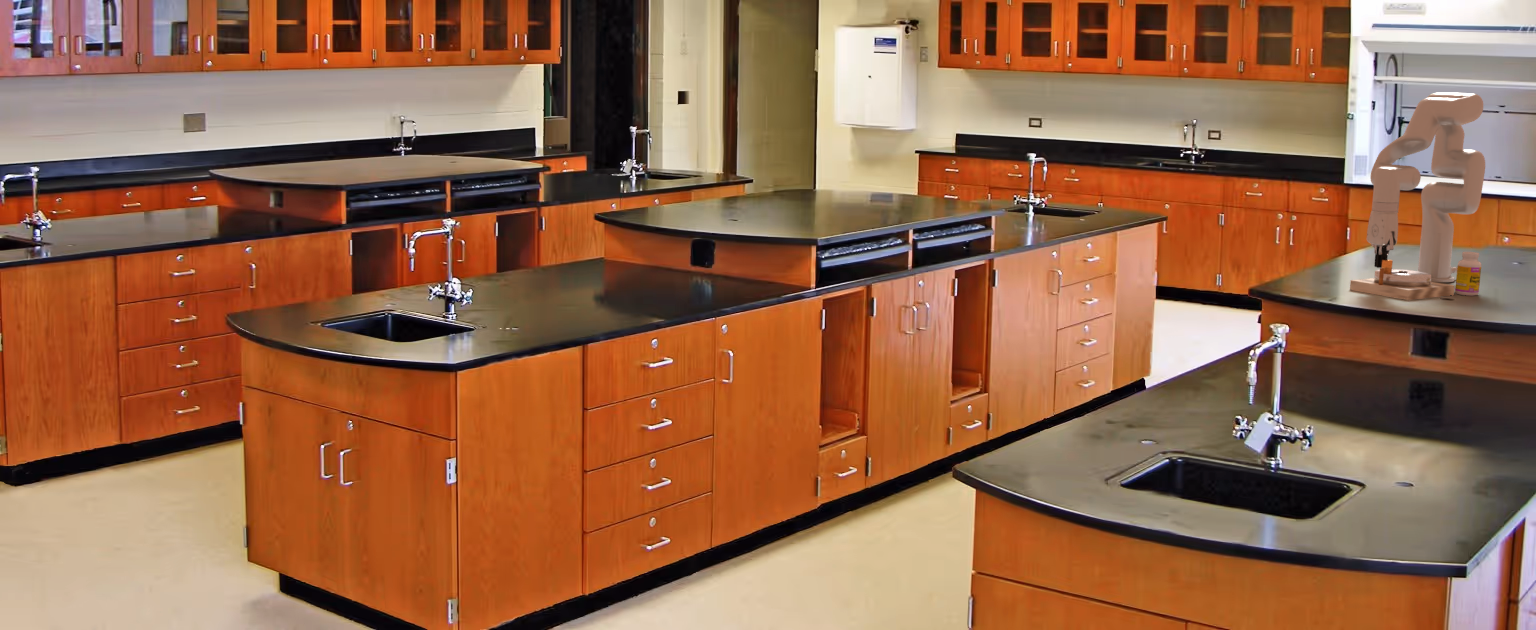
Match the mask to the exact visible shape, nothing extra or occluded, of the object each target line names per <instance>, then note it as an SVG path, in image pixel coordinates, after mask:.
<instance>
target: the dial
mask: <svg viewBox="0 0 1536 630" xmlns="http://www.w3.org/2000/svg"><path fill="white" fill-rule="evenodd" d="M1393 261H1394V260H1393V259H1387V260H1382V267H1381V268H1384V276H1383V284H1386V285H1394V286H1408V287H1422V286H1429V285H1431V274H1429V273H1425V272H1420V271H1418V270H1413V269H1411V270H1409V269H1393ZM1379 273H1380V269H1376V270H1375V271H1374V277H1373V278H1374V281H1375V282H1377V283H1379Z"/></svg>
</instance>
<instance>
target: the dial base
mask: <svg viewBox="0 0 1536 630" xmlns="http://www.w3.org/2000/svg"><path fill="white" fill-rule="evenodd" d="M1379 270H1380V273H1379V283H1377V282H1375V281H1374V277H1371V278H1361V279H1360V278H1359V279H1352V280H1350V282H1349V284H1350V285H1349V286H1350V287H1349V291H1354V292H1359V293H1365V294H1372V295H1377V296H1383V297H1389V298H1395V299H1400V300H1404V301H1405V300H1406V301H1410V300H1411V301H1412V300H1421V299H1431V298H1441V296H1442V297H1449V296H1450V295H1452V296H1454V295H1455V294H1454V293H1455V285H1453V284H1447V283H1443V282H1431V285H1429V286H1422V287H1408V286H1394V285H1386V284H1383V276H1384V268H1379ZM1450 297H1451V296H1450Z"/></svg>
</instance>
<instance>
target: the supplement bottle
mask: <svg viewBox="0 0 1536 630" xmlns="http://www.w3.org/2000/svg"><path fill="white" fill-rule="evenodd" d="M1461 257H1462V259H1460V260H1459V261H1458V263H1457V273H1456V279H1455V285H1454V293H1455V294H1456V295H1459V296H1460V295H1461V296H1465V295H1466V296H1468V297H1469V296H1470V297H1472V296H1473V297H1474V296H1479V293H1480V284H1481V273H1482V262H1480V261H1479V257H1480V253H1479V252H1474V251H1463V252H1462V254H1461Z"/></svg>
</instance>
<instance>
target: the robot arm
mask: <svg viewBox="0 0 1536 630" xmlns="http://www.w3.org/2000/svg"><path fill="white" fill-rule="evenodd" d="M1483 111H1484V100H1483V98H1482V97H1481V96H1480V95H1479V94H1477V93H1469V92H1468V93H1467V92H1445V91H1444V92H1443V91H1442V92H1434V93H1431V94H1428V96H1427V97H1425V98H1423V99H1421V100H1420V101H1419V102H1418V104H1417V105H1416V107H1415V109H1414V111H1413V114H1412V115H1411V118H1410V120H1409V123H1408V124H1407V127H1406V128H1405V131H1404V133H1403V134H1402V135H1401V136H1400V137H1398V138H1396V139H1394V140H1393V141H1392V142H1390V143H1389V144H1388V145H1386V146H1385V147H1384V148H1382V150H1381V151H1380V152H1379V154H1378V155H1377V157H1376V159H1375V162H1374V164H1373V166H1372V169H1371V172H1370V182H1371V184H1372V185H1373V192H1372V193H1373V194H1372V202H1371V203H1372V204H1371V211H1370V213H1369V214H1370V215H1369V218H1368V225H1367V230H1366V241H1367V242H1368V243H1369V244H1370V245H1371V246H1372V248H1373V249H1374V254H1375V255H1374V265H1373V266H1374V268H1377V269H1380V268H1381V267H1382V260H1388V255H1389V254H1390V252H1391V251H1393V250H1394V247H1395V246H1396V245H1397V243H1398V236H1399V235H1398V234H1399V217H1398V216H1399V215H1398V214H1399V206H1400V205H1399V204H1400V193H1401V191H1412V190H1414V189H1416V188H1417V187H1418V186H1419V184H1420V182H1421V179H1422V177H1421V172H1420V171H1419V169H1418V168H1416V167H1414V166H1411V165H1405V164H1404V165H1402V164H1401V165H1400V164H1393V163H1395V162H1396V161H1398V160H1400V159H1402V158H1404V157H1407V156H1410V155H1413V154H1416V153H1419V152H1422V151H1424V150H1426V149H1428V148H1430V147H1431V145H1432V142H1433V140H1434V144H1433V150H1432V157H1431V167H1430V170H1431V172H1432V175H1434V176H1435V177H1437V178H1441V179H1443V178H1444V179H1452V180H1453V179H1454V180H1463V183H1456V182H1445V181H1433V182H1430V183H1427V184H1426V185H1424V187H1423V189H1422V190H1421V195H1420V200H1421V210H1422V211H1421V212H1422V214H1421V215H1422V222H1421V232H1420V244H1419V246H1420V247H1419V255H1418V267H1417V271H1420V272H1425V273H1429V274H1431V282H1436V283H1453V282H1455V280H1456V279H1455V277H1454V276H1453V275H1452V274H1457V267H1456V266H1454V267H1452V265H1451V264H1452V253H1453V243H1454V242H1453V241H1454V233H1455V231H1454V230H1455V226H1454V225H1455V224H1454V222H1453V219H1452V217H1450V214H1455V215H1456V214H1457V215H1472V214H1475V213H1476V212H1477V211H1478V209H1479V208H1480V203H1481V198H1482V192H1483V191H1482V190H1483V185H1484V180H1485V173H1486V159H1485V156H1484V154H1483V152H1481V151H1480V150H1475V149H1466V148H1465V149H1464V142H1465V141H1464V140H1465V130H1464V129H1463V125H1466V124H1469V123H1472V122H1475V121H1477V120H1478V119H1479V118H1480V117H1481V115H1482V113H1483Z"/></svg>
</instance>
